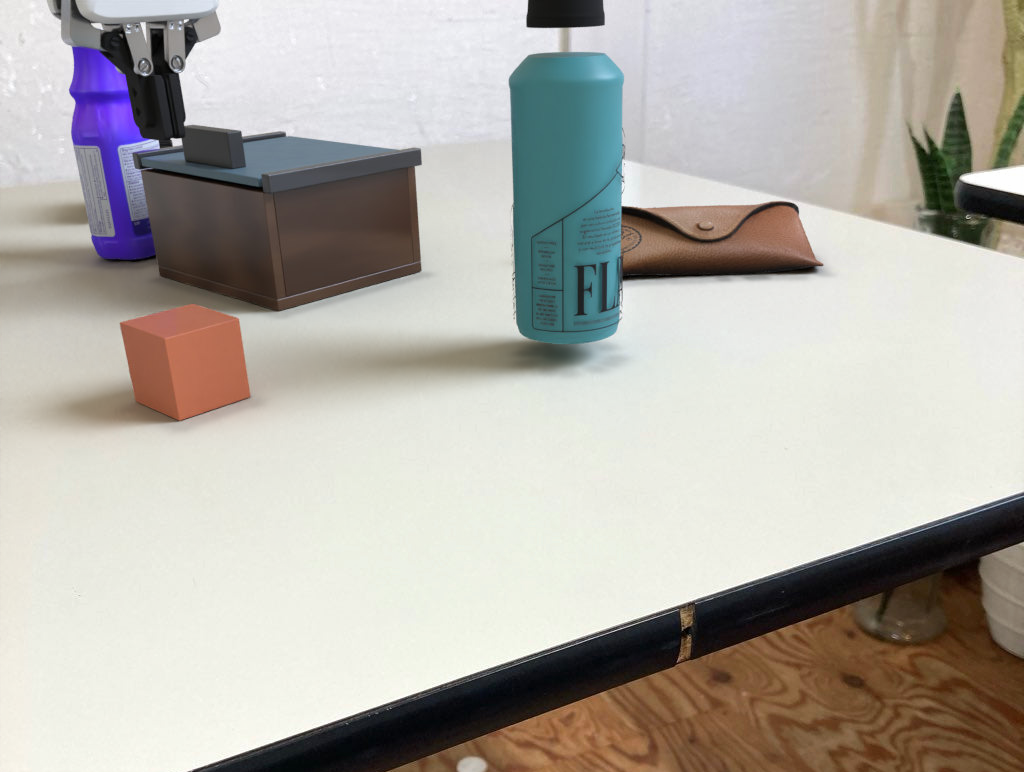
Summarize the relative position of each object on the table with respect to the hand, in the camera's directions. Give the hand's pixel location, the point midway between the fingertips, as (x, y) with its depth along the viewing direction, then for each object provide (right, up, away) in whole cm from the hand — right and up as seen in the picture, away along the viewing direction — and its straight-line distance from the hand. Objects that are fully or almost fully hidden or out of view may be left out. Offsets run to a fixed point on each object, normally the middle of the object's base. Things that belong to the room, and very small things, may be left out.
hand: (163, 137), depth 70 cm
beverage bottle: (+27, -16, -7) cm, 32 cm away
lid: (+6, +1, +7) cm, 9 cm away
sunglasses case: (+38, -6, +11) cm, 40 cm away
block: (+6, -19, -13) cm, 24 cm away
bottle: (-8, -4, +18) cm, 20 cm away
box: (+6, -7, +11) cm, 14 cm away
